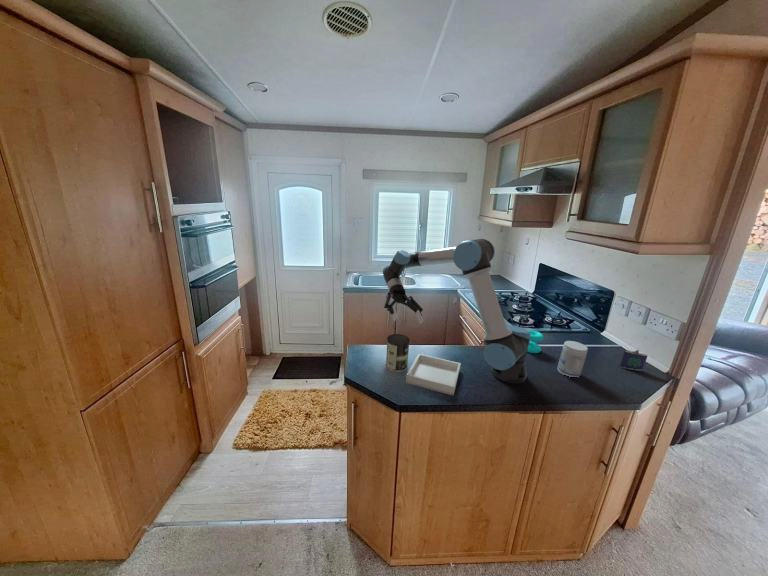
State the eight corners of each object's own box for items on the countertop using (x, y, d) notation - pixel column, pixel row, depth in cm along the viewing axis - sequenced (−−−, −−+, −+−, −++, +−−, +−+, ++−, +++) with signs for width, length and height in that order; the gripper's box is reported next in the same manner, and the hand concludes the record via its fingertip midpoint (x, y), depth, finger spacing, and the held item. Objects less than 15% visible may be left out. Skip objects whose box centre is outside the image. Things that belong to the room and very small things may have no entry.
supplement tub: (552, 367, 143) (559, 339, 139) (572, 368, 143) (579, 340, 139) (564, 378, 134) (571, 349, 129) (585, 379, 134) (593, 350, 129)
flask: (641, 370, 144) (647, 350, 141) (643, 373, 142) (650, 353, 139) (618, 365, 148) (624, 346, 144) (620, 368, 145) (626, 349, 142)
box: (459, 370, 135) (460, 363, 134) (453, 395, 117) (454, 387, 116) (417, 360, 142) (418, 353, 141) (405, 383, 124) (406, 374, 123)
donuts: (548, 336, 153) (532, 337, 151) (544, 353, 156) (529, 354, 154) (534, 328, 162) (519, 329, 160) (531, 344, 165) (516, 346, 163)
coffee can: (408, 362, 140) (410, 335, 136) (405, 373, 131) (408, 345, 127) (387, 358, 142) (389, 332, 138) (383, 370, 133) (385, 342, 129)
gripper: (413, 298, 154) (427, 328, 139) (371, 290, 143) (381, 323, 128) (420, 287, 150) (435, 318, 135) (377, 279, 139) (388, 311, 124)
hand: (409, 320), depth 132 cm, fingers open, 13 cm apart
